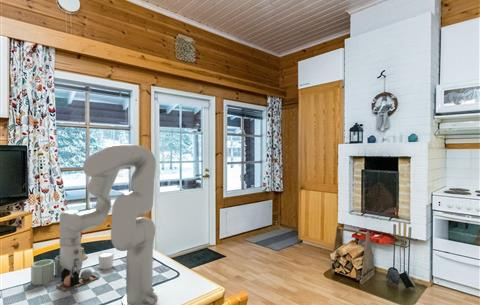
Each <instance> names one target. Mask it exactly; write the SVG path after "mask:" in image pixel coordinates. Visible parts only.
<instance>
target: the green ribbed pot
mask: <svg viewBox="0 0 480 305" xmlns="http://www.w3.org/2000/svg"><path fill="white" fill-rule="evenodd" d="M54 279H55V259H42V260H38V261H34V262H33V263H32V264H31V265H30V283H31V284H32V285H34V286H36V285H37V286H38V285H43V284H47V283H50V282H52V281H53V280H54Z"/></svg>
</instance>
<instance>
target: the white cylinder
mask: <svg viewBox="0 0 480 305" xmlns="http://www.w3.org/2000/svg"><path fill="white" fill-rule="evenodd" d="M98 265H99V266H98V267H99V269H100V270H108V269H110V268H112V267H113V265H114V252H112V251H107V252H102V253H99V254H98Z"/></svg>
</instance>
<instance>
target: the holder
mask: <svg viewBox="0 0 480 305" xmlns="http://www.w3.org/2000/svg"><path fill="white" fill-rule="evenodd" d="M99 278H100V276H98V275H96V274H93V273H92V276H91V277H90V278H89V279H88V280H82V279H81V277H80V276H79V284H78V285H76V286H73V287H70V286H66V285H65V284H64V282H62V283H61V284H60V283H59V284H56V288H57V289H58V290H60V291H63V292H64V293H65V292H68V291H71V290H74V289H76V288H78V287H81V286H84V285H87V284H89V283H92V282H94V281H97V280H99Z"/></svg>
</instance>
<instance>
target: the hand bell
mask: <svg viewBox="0 0 480 305" xmlns="http://www.w3.org/2000/svg"><path fill="white" fill-rule="evenodd" d="M82 237H83V231H82V232H81V239H82ZM80 244H81V245H82V243H80ZM81 250H82V261H85V260H87V259H88V258H89V257H88V255H87V254H86V252H85V249H84V247H82V246H81Z"/></svg>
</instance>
